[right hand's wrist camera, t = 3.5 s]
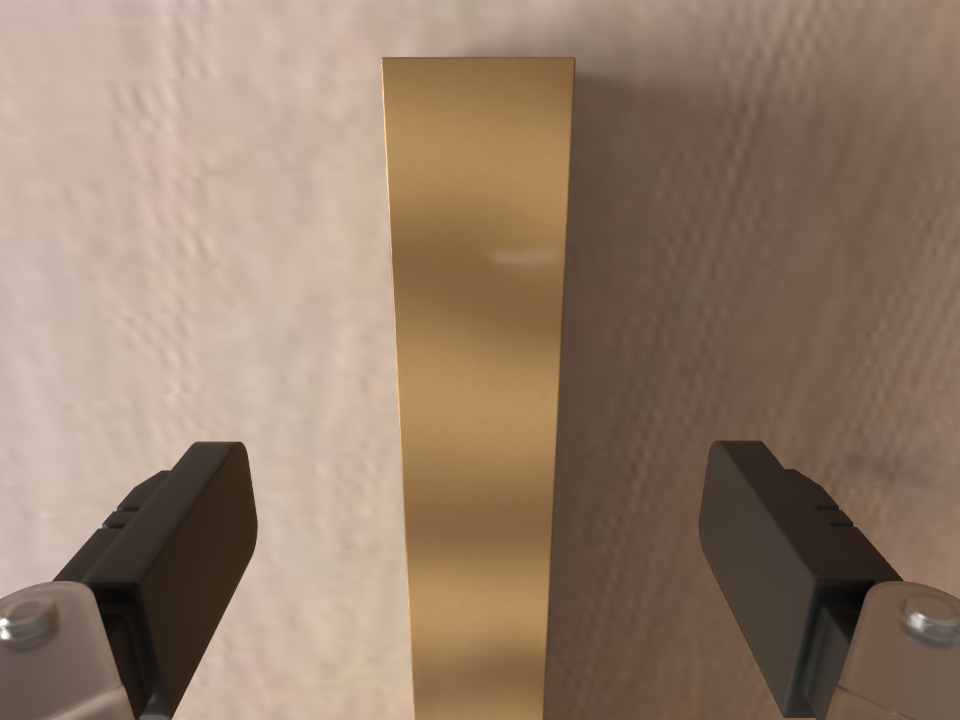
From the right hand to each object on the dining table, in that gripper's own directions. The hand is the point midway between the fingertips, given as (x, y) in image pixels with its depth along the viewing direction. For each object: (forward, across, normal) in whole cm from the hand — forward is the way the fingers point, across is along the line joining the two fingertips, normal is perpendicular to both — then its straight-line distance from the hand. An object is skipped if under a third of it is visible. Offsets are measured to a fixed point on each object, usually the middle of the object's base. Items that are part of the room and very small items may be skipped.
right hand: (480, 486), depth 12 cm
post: (+17, 0, -21) cm, 27 cm away
